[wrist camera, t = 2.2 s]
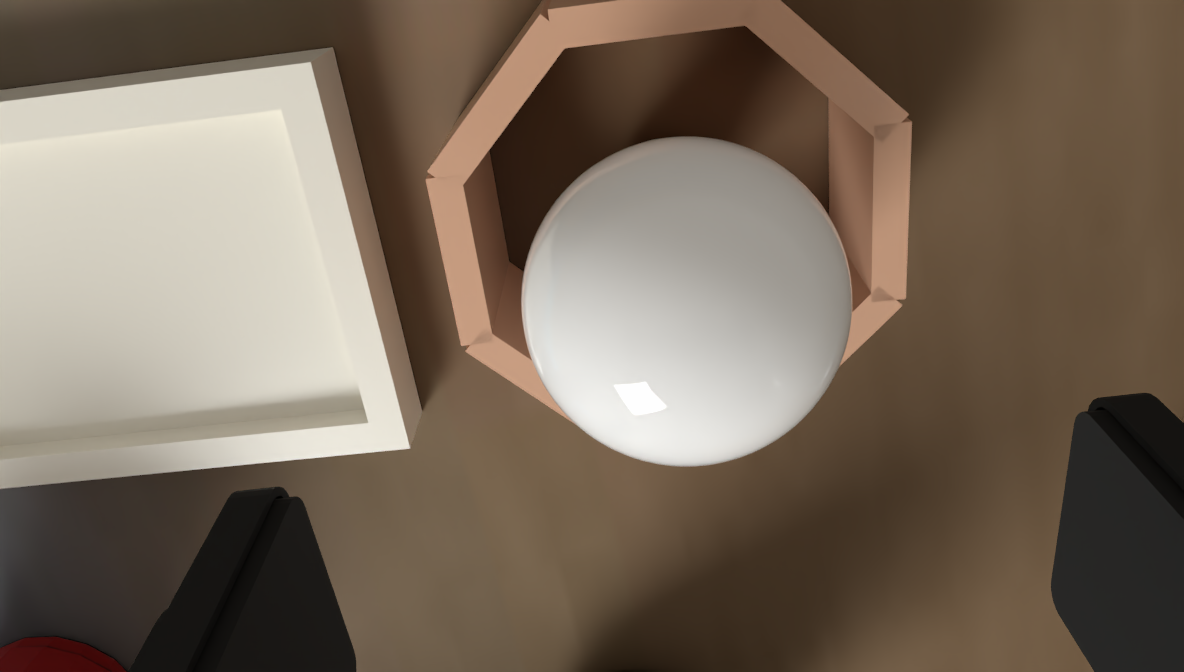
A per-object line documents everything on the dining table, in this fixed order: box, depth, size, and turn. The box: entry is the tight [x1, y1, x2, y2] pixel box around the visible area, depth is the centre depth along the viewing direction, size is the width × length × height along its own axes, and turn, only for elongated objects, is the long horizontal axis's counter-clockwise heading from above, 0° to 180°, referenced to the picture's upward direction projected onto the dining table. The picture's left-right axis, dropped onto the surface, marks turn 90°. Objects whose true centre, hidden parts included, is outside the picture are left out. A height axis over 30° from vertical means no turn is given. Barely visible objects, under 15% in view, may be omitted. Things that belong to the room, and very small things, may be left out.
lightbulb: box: [521, 136, 853, 467], centre depth 20 cm, size 6×6×11 cm
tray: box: [0, 47, 422, 489], centre depth 25 cm, size 14×11×2 cm
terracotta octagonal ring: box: [426, 0, 912, 424], centre depth 23 cm, size 11×11×4 cm
